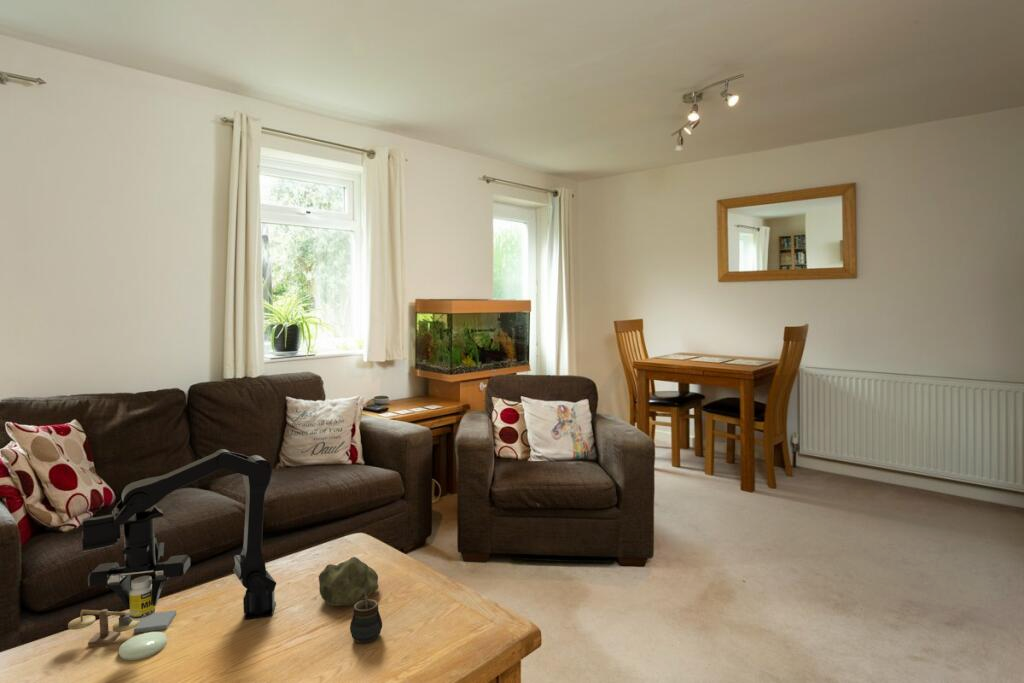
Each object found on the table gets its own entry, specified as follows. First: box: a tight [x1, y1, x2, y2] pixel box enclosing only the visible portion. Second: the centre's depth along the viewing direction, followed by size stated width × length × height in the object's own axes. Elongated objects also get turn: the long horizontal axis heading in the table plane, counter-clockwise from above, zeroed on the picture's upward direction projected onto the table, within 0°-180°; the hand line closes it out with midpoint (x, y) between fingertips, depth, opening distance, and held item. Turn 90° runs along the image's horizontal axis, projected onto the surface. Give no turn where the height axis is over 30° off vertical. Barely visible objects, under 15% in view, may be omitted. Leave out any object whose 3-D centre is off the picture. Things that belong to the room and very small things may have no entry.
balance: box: [67, 608, 139, 648], centre depth 130 cm, size 14×5×8 cm, turn 105°
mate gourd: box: [349, 589, 383, 644], centre depth 131 cm, size 7×8×10 cm
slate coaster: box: [133, 609, 177, 634], centre depth 137 cm, size 7×7×1 cm
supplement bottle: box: [129, 575, 156, 622], centre depth 127 cm, size 5×5×8 cm
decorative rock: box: [318, 556, 379, 607], centre depth 150 cm, size 15×16×10 cm
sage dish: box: [118, 631, 168, 661], centre depth 127 cm, size 9×9×1 cm
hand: (142, 606), depth 127 cm, fingers closed on supplement bottle, 5 cm apart
